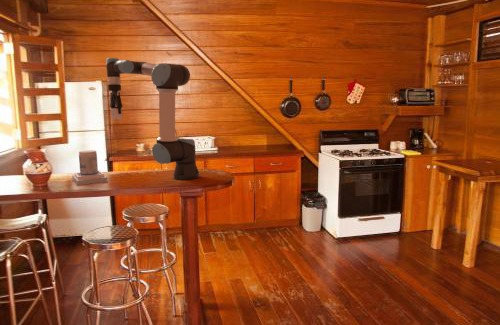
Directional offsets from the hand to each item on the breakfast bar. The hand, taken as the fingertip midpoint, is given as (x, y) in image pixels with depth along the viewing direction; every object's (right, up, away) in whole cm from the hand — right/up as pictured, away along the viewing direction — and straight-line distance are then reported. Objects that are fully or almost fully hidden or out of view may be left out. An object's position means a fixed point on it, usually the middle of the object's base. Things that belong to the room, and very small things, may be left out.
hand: (116, 119), depth 242 cm
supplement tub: (-11, -35, -16) cm, 40 cm away
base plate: (-11, -37, -15) cm, 42 cm away
